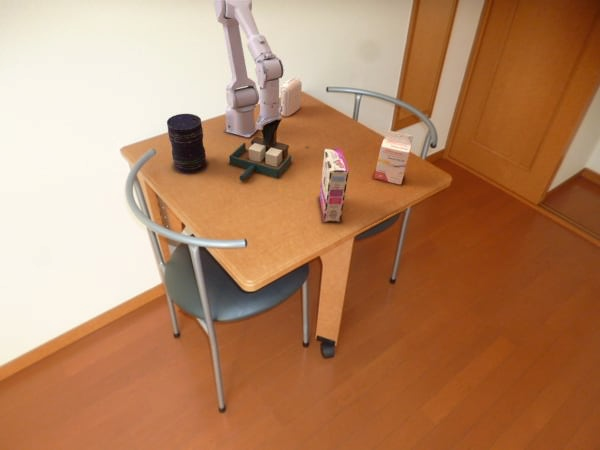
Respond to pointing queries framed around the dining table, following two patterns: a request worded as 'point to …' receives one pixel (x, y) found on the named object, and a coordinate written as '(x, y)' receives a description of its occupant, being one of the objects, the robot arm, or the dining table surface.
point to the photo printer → (291, 96)
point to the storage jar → (187, 143)
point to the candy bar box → (333, 185)
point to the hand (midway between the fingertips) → (269, 140)
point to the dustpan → (255, 165)
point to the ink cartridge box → (393, 157)
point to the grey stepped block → (272, 144)
